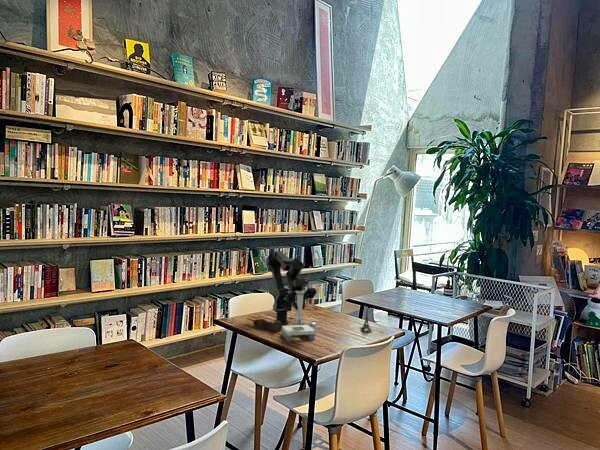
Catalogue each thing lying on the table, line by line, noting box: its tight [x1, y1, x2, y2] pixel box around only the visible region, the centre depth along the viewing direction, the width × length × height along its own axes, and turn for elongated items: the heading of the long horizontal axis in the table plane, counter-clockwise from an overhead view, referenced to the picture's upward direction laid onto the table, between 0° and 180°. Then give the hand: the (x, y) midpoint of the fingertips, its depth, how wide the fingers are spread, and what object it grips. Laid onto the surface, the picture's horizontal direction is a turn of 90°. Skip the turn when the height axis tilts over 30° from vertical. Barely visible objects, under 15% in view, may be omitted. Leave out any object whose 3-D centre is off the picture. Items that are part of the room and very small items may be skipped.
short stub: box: [307, 321, 318, 334], centre depth 213 cm, size 4×4×5 cm
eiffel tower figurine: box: [351, 307, 385, 334], centre depth 219 cm, size 15×10×13 cm
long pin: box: [294, 289, 306, 325], centre depth 205 cm, size 4×4×16 cm
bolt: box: [252, 318, 283, 333], centre depth 216 cm, size 6×5×15 cm
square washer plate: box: [281, 324, 316, 342], centre depth 205 cm, size 10×13×4 cm
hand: (300, 309), depth 203 cm, fingers closed on long pin, 3 cm apart
